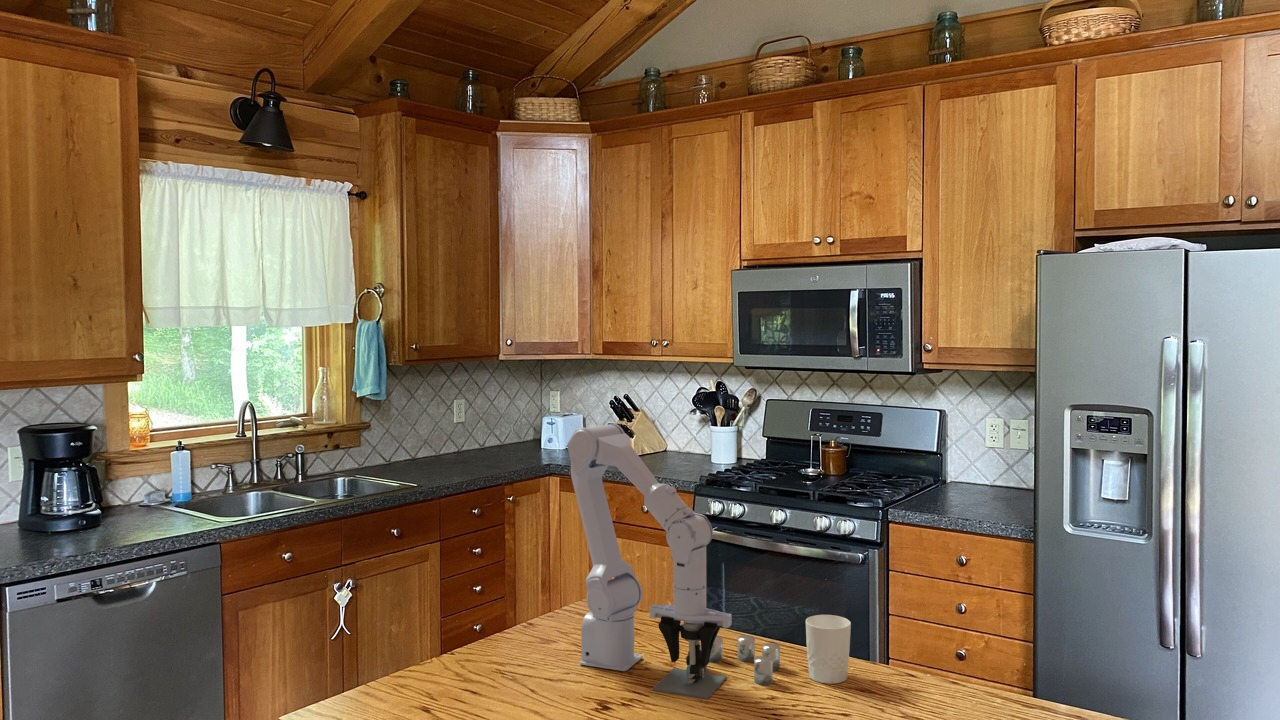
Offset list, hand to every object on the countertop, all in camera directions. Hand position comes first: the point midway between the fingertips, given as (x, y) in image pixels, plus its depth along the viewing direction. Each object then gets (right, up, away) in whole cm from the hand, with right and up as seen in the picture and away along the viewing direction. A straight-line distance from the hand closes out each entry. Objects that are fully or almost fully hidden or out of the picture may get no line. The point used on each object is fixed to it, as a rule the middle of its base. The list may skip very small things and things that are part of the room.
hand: (690, 662), depth 166 cm
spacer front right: (+13, -4, +1) cm, 13 cm away
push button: (+1, -4, +1) cm, 4 cm away
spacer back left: (+5, -3, +12) cm, 14 cm away
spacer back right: (+15, -3, +8) cm, 17 cm away
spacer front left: (+2, -4, +7) cm, 8 cm away
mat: (0, -4, 0) cm, 4 cm away
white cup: (+25, -4, +3) cm, 25 cm away
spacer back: (+11, -3, +12) cm, 17 cm away
